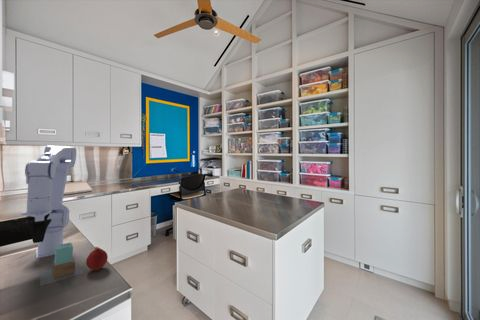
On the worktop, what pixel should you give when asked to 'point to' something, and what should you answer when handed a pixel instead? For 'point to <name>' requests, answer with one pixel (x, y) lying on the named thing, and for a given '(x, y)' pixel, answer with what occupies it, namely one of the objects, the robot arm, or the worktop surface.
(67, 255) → the teal block
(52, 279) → the mat
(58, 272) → the walnut block
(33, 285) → the worktop surface
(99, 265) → the red round piece
